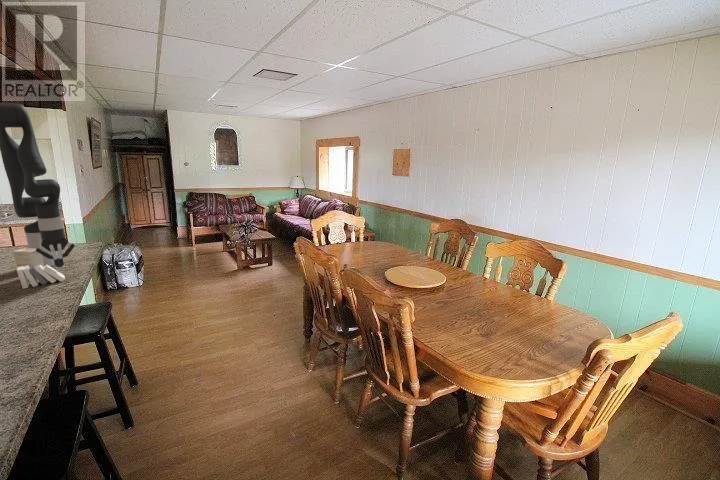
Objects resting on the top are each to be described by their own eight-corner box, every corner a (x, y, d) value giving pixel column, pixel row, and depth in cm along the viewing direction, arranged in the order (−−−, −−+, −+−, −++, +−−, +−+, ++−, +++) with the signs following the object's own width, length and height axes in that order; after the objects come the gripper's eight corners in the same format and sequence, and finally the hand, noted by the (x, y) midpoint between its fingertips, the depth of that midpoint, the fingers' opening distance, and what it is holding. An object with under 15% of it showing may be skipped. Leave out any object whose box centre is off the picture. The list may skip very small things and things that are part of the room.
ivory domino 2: (33, 283, 142) (23, 266, 139) (38, 281, 143) (28, 265, 140) (33, 286, 138) (22, 270, 135) (38, 285, 139) (27, 268, 136)
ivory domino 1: (23, 284, 140) (17, 267, 138) (28, 283, 141) (23, 266, 139) (23, 288, 137) (16, 270, 134) (28, 287, 138) (22, 269, 135)
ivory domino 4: (61, 278, 148) (43, 267, 143) (64, 275, 148) (46, 264, 144) (61, 281, 144) (42, 270, 139) (64, 279, 145) (46, 267, 140)
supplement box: (47, 276, 149) (41, 248, 146) (36, 280, 145) (29, 251, 141) (30, 275, 150) (24, 247, 147) (19, 279, 145) (11, 250, 142)
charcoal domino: (43, 281, 144) (29, 266, 140) (47, 279, 145) (33, 264, 141) (42, 285, 140) (28, 269, 137) (47, 282, 141) (33, 267, 137)
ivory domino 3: (52, 279, 146) (35, 266, 141) (56, 277, 147) (39, 264, 142) (52, 283, 142) (35, 270, 138) (56, 280, 143) (39, 267, 139)
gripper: (29, 231, 133) (38, 272, 138) (72, 227, 142) (80, 266, 146) (30, 228, 139) (39, 267, 143) (71, 224, 147) (79, 261, 152)
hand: (60, 266), depth 145 cm, fingers closed
